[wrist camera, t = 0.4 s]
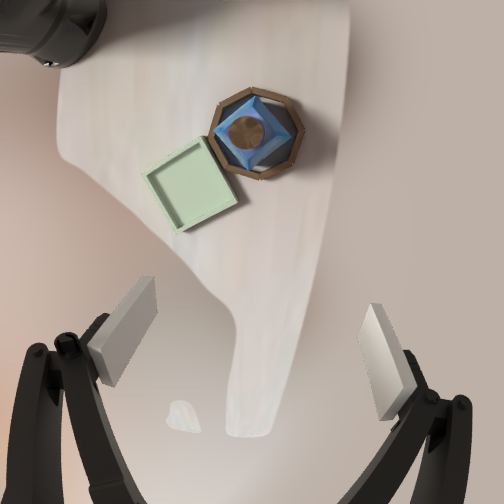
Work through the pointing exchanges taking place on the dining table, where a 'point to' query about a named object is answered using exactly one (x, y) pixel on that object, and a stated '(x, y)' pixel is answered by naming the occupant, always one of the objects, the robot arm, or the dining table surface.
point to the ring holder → (241, 170)
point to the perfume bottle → (252, 133)
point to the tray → (190, 185)
